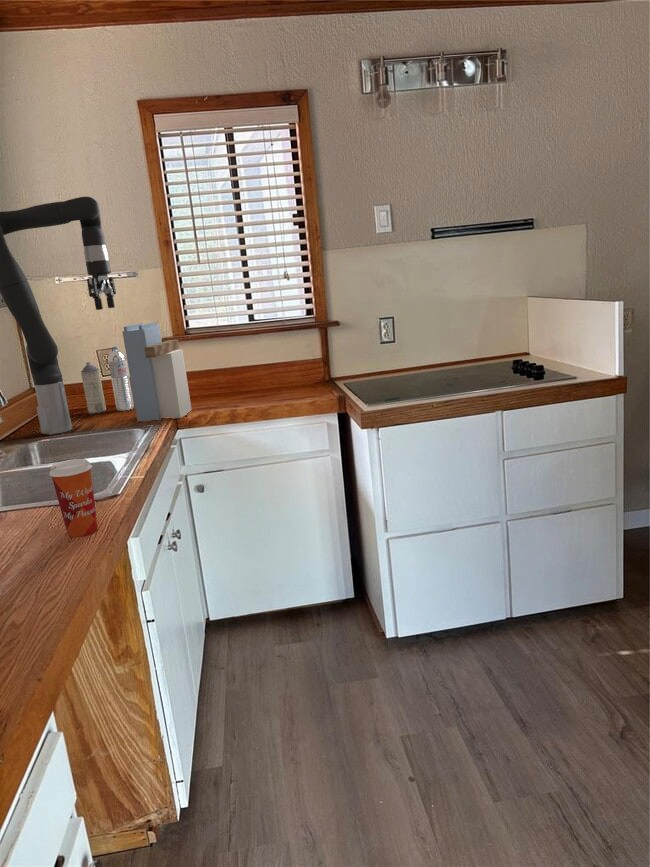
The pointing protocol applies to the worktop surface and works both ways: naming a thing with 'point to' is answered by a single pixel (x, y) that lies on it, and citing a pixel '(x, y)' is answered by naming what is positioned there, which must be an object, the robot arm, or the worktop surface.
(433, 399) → the worktop surface
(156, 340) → the tower
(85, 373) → the aerosol can
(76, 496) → the paper cup
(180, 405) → the white tall block
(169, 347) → the bar
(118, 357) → the water bottle
